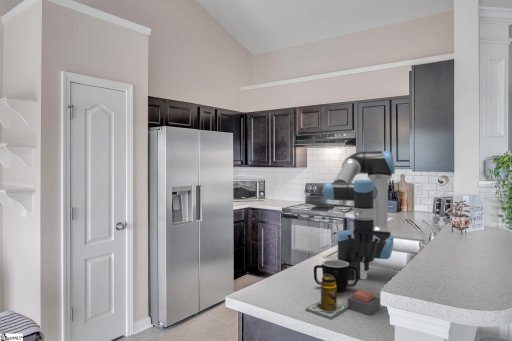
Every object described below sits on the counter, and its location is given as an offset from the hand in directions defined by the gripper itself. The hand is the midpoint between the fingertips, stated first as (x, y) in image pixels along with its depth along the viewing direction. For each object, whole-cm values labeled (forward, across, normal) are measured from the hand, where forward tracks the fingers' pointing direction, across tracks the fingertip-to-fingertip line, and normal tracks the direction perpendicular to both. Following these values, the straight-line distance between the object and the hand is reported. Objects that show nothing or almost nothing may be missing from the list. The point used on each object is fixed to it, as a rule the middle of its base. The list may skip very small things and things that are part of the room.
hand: (363, 278), depth 136 cm
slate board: (+12, -10, -11) cm, 19 cm away
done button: (+9, 0, 0) cm, 9 cm away
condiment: (+12, -10, -11) cm, 19 cm away
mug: (+12, -19, +11) cm, 25 cm away
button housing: (+12, 0, 0) cm, 12 cm away
